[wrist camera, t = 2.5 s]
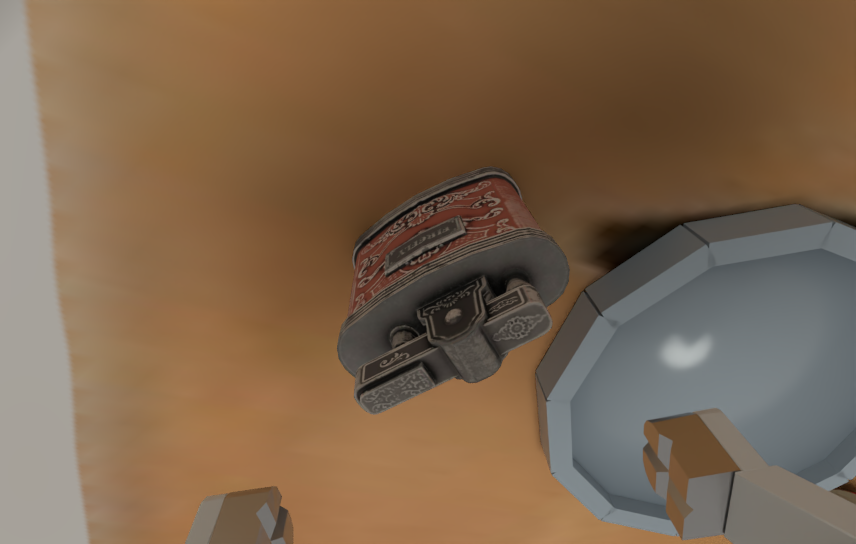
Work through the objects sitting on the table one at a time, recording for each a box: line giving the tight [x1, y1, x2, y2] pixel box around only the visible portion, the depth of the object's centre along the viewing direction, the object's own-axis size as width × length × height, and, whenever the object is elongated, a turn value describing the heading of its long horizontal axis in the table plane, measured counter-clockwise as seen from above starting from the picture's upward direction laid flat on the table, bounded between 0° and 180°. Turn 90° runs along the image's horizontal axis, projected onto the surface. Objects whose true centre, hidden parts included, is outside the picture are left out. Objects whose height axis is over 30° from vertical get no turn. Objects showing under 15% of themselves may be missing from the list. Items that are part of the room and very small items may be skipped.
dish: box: [535, 204, 856, 536], centre depth 27 cm, size 20×20×2 cm
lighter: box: [337, 166, 570, 414], centre depth 18 cm, size 8×3×10 cm, turn 119°
